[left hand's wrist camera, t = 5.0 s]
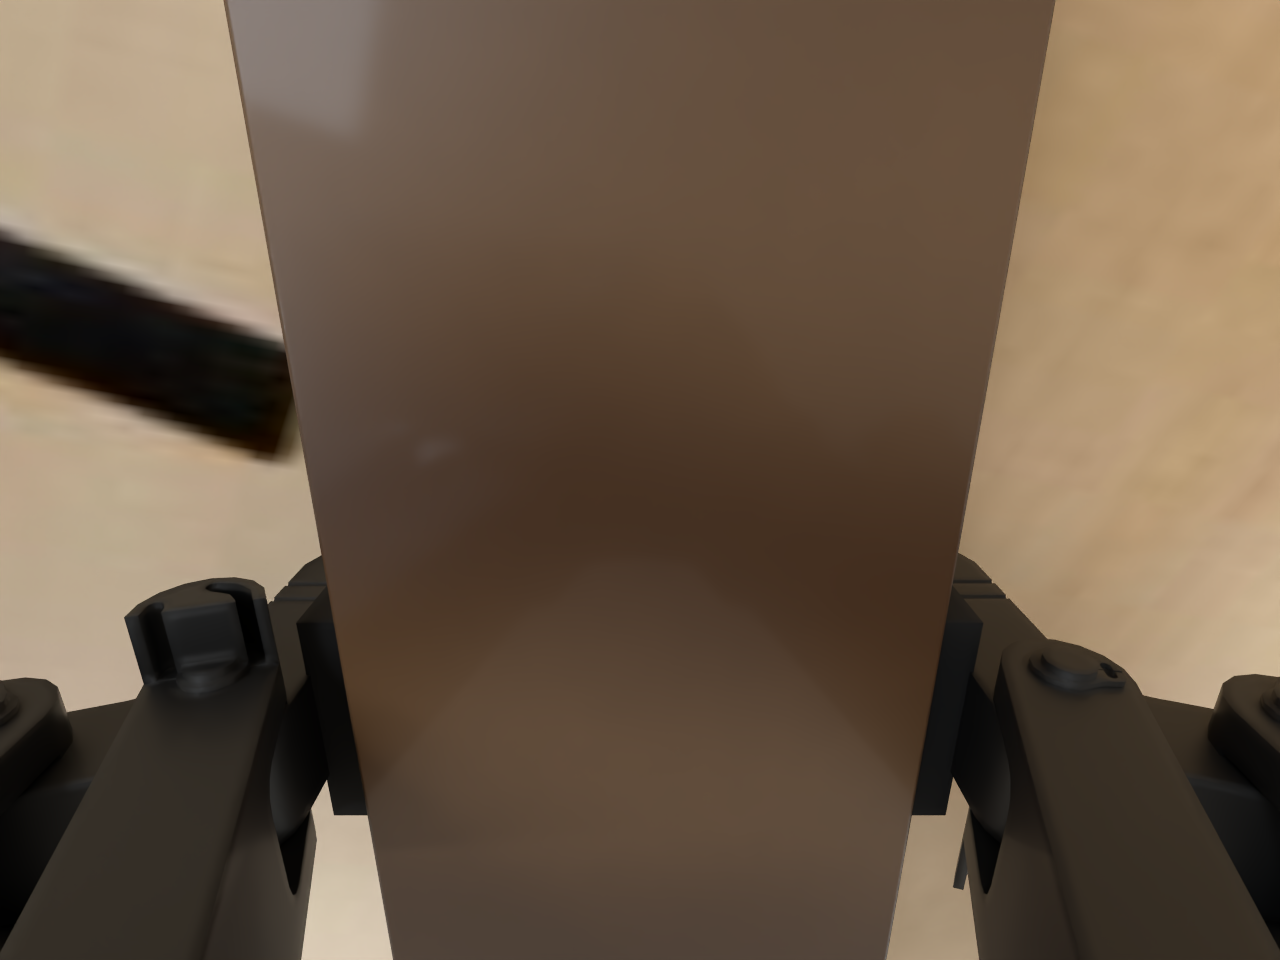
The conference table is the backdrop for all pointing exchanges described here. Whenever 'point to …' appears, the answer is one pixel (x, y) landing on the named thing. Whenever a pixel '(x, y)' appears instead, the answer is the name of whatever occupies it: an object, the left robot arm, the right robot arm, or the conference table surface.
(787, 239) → the post
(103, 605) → the conference table surface
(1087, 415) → the conference table surface
